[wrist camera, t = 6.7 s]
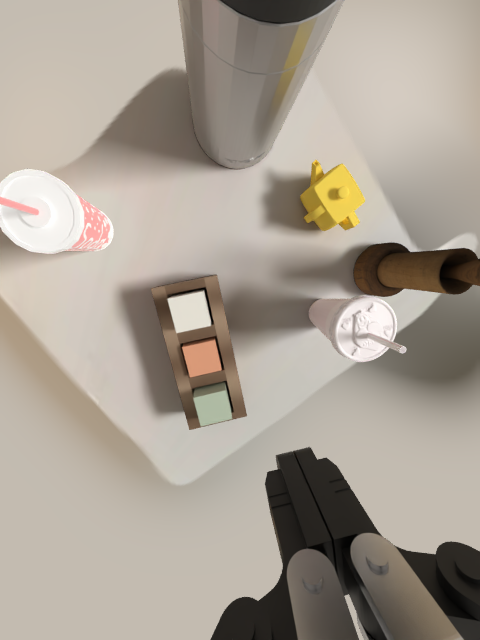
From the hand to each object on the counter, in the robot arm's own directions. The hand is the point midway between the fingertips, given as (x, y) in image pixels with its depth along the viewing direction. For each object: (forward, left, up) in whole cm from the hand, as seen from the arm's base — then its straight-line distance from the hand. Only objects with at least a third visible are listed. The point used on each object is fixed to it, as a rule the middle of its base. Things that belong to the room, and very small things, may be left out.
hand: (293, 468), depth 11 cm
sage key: (+6, -5, -19) cm, 21 cm away
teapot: (-13, +12, -23) cm, 29 cm away
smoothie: (0, +11, -22) cm, 25 cm away
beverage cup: (-15, -14, -22) cm, 30 cm away
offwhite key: (-5, -5, -20) cm, 21 cm away
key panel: (+1, -5, -22) cm, 23 cm away
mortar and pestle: (-4, +19, -22) cm, 30 cm away
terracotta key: (+1, -5, -21) cm, 21 cm away
